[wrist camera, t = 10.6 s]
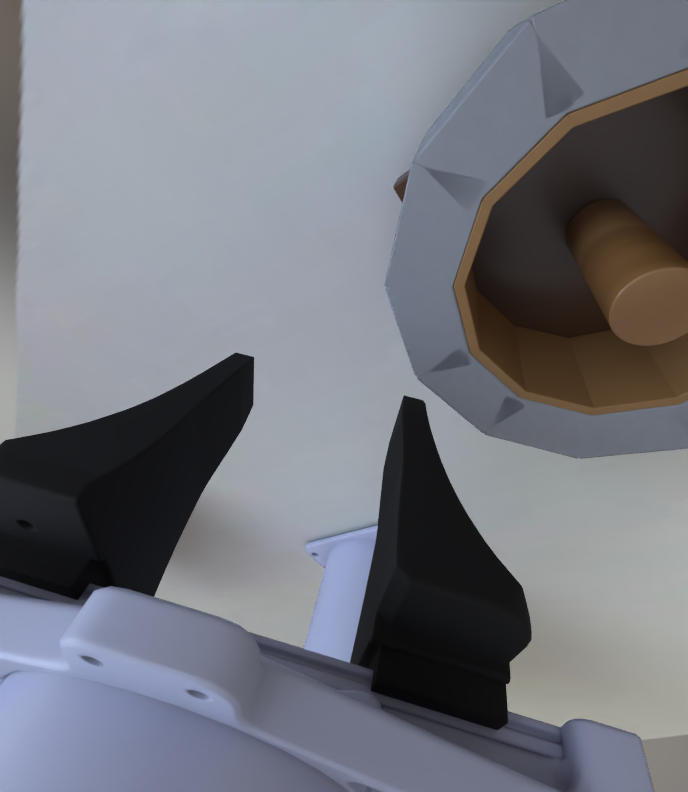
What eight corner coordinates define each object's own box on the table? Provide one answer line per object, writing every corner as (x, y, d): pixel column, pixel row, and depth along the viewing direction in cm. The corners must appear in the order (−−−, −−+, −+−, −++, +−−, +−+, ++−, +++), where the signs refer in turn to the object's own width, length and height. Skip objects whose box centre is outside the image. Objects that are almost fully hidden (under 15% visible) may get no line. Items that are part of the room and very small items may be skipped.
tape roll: (880, 291, 14) (1016, 368, 10) (494, 422, 20) (500, 496, 17) (827, -227, 9) (1063, -410, 5) (332, 172, 15) (294, 207, 12)
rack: (799, 263, 15) (991, 384, 9) (512, 376, 20) (530, 495, 14) (734, -69, 11) (1002, -191, 5) (396, 179, 16) (361, 242, 10)
